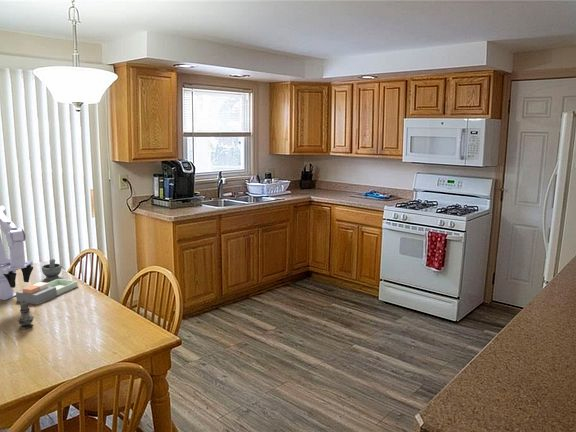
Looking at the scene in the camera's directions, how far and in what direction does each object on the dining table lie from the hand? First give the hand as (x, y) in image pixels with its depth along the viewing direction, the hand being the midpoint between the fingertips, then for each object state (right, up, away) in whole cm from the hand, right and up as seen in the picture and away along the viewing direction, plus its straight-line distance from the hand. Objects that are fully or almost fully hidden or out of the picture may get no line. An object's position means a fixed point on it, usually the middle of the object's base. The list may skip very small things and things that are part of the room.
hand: (19, 284), depth 216 cm
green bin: (+6, -6, +24) cm, 25 cm away
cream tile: (+3, -4, +13) cm, 14 cm away
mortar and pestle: (-6, -3, +41) cm, 42 cm away
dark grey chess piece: (+14, -15, -20) cm, 28 cm away
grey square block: (+2, -8, +11) cm, 14 cm away
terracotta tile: (+1, -5, +8) cm, 9 cm away
